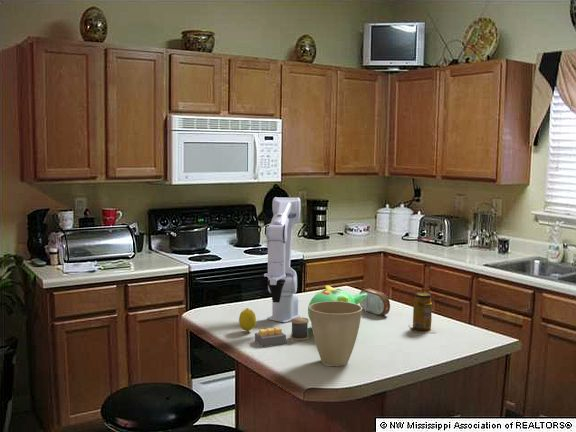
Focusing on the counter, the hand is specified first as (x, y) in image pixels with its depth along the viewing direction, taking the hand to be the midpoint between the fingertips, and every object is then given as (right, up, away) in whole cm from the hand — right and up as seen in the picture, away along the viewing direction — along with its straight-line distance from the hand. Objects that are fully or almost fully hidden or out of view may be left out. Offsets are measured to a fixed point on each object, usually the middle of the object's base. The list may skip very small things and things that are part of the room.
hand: (276, 301), depth 203 cm
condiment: (+49, -10, +4) cm, 50 cm away
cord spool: (+8, -11, -6) cm, 14 cm away
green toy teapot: (+19, -10, +2) cm, 22 cm away
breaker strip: (-2, -11, -11) cm, 16 cm away
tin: (+36, -8, +25) cm, 44 cm away
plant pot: (+17, -13, -28) cm, 35 cm away
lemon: (-9, -10, 0) cm, 14 cm away
